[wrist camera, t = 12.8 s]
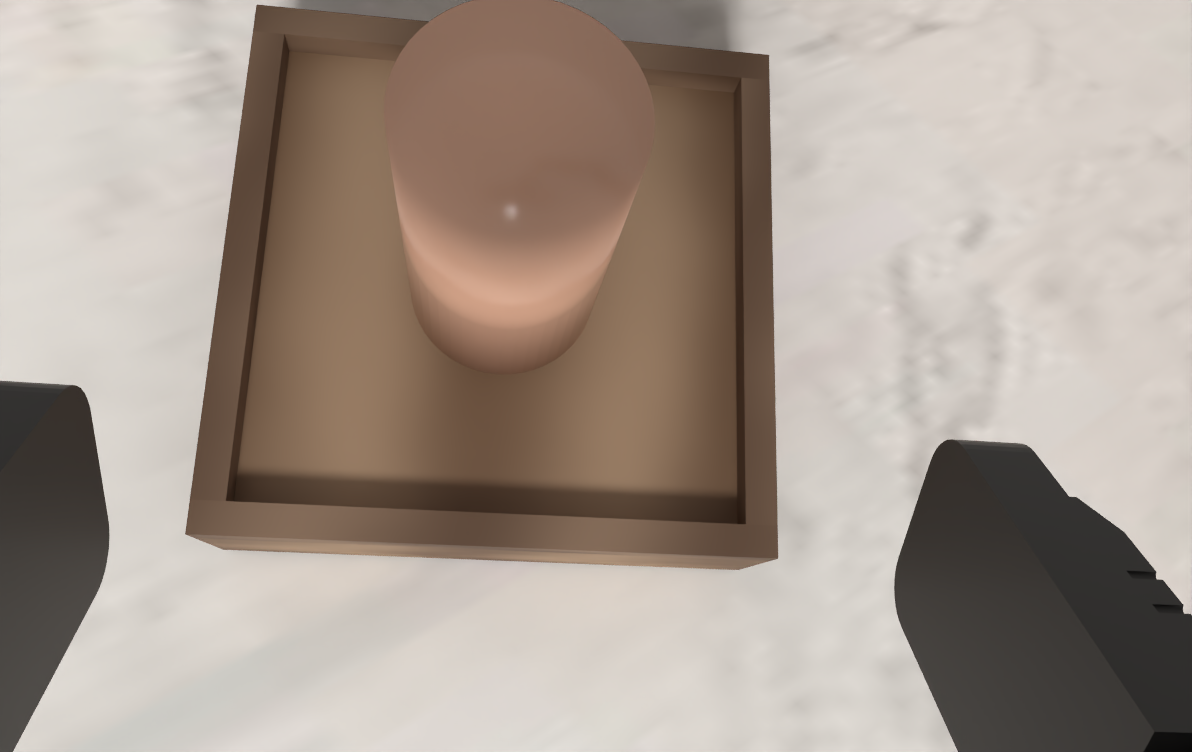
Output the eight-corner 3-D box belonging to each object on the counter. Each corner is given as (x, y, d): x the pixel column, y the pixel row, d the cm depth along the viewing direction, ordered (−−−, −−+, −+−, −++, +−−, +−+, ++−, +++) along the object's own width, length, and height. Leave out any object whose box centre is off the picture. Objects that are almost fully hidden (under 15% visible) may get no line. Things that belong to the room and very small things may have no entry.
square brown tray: (734, 122, 32) (768, 55, 28) (737, 569, 28) (778, 558, 25) (281, 81, 30) (256, 4, 27) (223, 549, 27) (185, 534, 23)
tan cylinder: (597, 209, 27) (657, 9, 19) (590, 380, 26) (652, 249, 18) (418, 194, 27) (395, -19, 18) (402, 368, 26) (371, 226, 17)
